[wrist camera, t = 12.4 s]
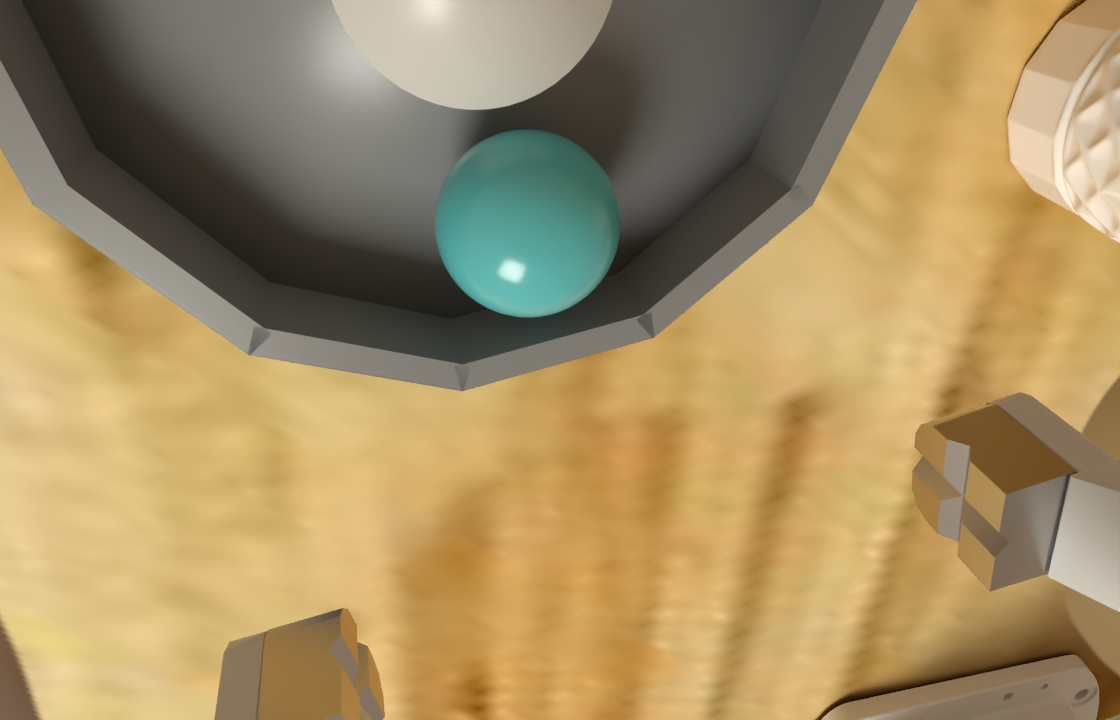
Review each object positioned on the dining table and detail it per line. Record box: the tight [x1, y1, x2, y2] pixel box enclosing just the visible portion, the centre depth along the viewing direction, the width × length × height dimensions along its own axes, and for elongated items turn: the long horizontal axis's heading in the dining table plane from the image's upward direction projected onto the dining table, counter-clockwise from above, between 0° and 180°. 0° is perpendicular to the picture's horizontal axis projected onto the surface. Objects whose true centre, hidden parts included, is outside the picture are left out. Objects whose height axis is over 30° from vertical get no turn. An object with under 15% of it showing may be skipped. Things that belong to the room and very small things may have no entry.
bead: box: [434, 129, 621, 318], centre depth 20 cm, size 4×4×4 cm
